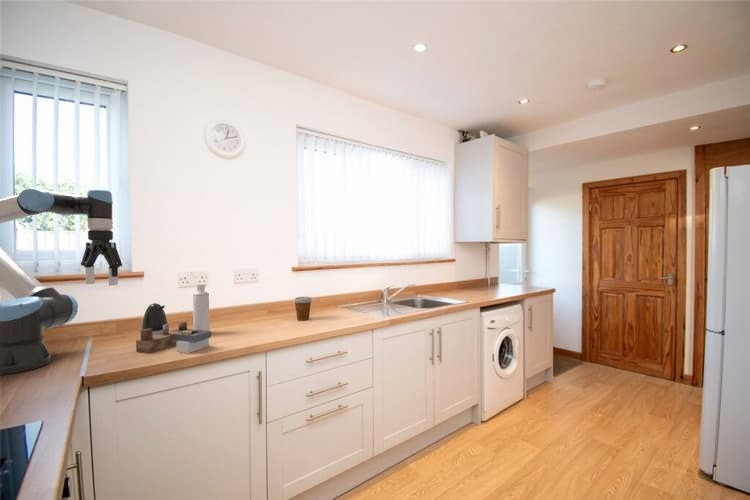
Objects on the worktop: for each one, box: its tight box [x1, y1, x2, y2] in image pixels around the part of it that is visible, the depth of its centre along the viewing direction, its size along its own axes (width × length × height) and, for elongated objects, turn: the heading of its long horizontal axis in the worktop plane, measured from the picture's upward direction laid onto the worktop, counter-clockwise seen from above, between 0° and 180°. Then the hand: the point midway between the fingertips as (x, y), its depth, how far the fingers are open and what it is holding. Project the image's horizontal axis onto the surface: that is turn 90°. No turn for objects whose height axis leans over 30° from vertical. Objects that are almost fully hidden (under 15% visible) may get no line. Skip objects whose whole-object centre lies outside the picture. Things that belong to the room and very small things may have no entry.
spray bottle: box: [192, 283, 211, 331], centre depth 158 cm, size 7×7×25 cm
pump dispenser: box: [140, 302, 169, 335], centre depth 155 cm, size 10×10×15 cm
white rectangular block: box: [175, 338, 210, 354], centre depth 136 cm, size 10×6×4 cm, turn 160°
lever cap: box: [174, 328, 212, 343], centre depth 136 cm, size 8×11×4 cm
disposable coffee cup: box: [293, 296, 312, 322], centre depth 187 cm, size 10×10×12 cm
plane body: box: [135, 321, 191, 354], centre depth 141 cm, size 20×7×8 cm, turn 160°
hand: (101, 284), depth 132 cm, fingers open, 13 cm apart
